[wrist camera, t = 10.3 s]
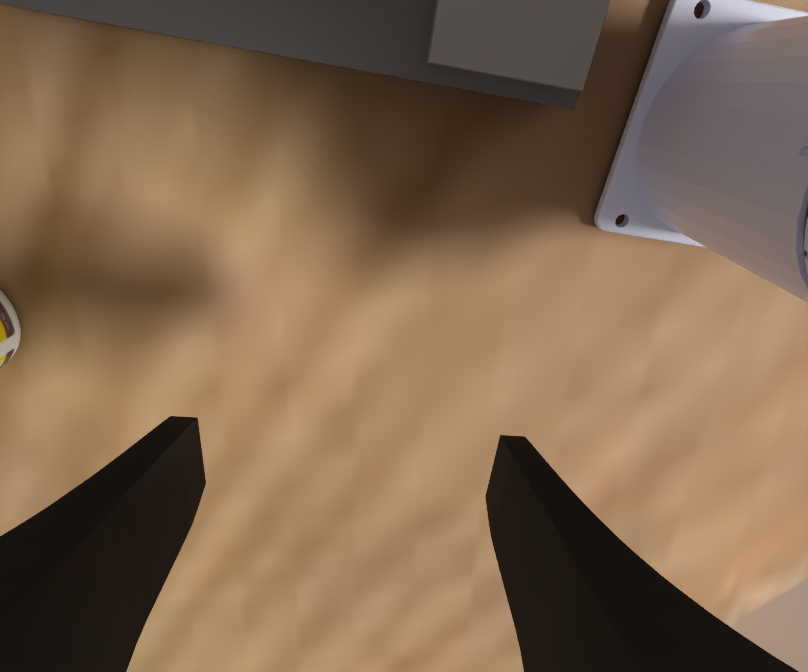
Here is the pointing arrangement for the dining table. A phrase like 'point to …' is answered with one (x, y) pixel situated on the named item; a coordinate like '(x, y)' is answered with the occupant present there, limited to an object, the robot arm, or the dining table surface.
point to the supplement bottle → (8, 330)
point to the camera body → (388, 36)
